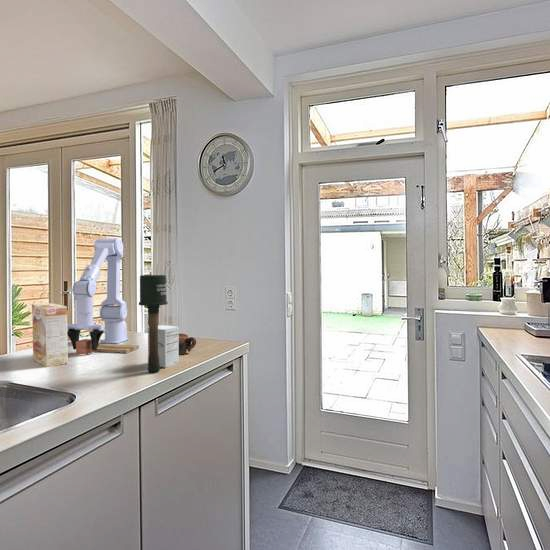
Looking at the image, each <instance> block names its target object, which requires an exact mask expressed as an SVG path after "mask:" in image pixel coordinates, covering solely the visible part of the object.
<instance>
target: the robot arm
mask: <svg viewBox="0 0 550 550" xmlns="http://www.w3.org/2000/svg"><path fill="white" fill-rule="evenodd" d="M93 247H94V253H93V257H92V259H91V261H90V264H88V265H86V266H85V268H84V270H83V272H82V274H81V275H80V278H79V280H77V281H76V282H74V283H73V286H72V289H71V291H72V294H73V297H74V301H75V315H76V316H75V319H76V322H75V323H67V337H68V338H69V340H70V342H71V345H72V349H73V350H75V351H76V341H79V340H80V335H81V331H89V336H90V339H91V343H92V350H96V349H97V346H98V343H99V340H100V343H99V344H120V343H123V342H126V341H127V340H129V339H130V338H129V337H128V325H127V322H126V321H125V320H126V318H127V317H128V307H127V302H126V301H125V300H123V298H121V297H120V293H121V292H120V291H121V290H120V289H121V287H120V285H121V284H120V283H121V259H123V257H124V243H123V241H122V239H121V238H119V237H117V238H100V237H99V238H96V239H95V241H94V244H93ZM104 261H106V262H107V267H106V268H107V270H106V271H107V272H106V275H107V276H106V277H107V279H106V280H107V281H106V283H107V284H106V299H104V300H103V301H102V302H101V303H100V304H101V305H100V309H99V317H100V319H101V320H102V321H103V322H104V324H97V323H94V296H95V294H96V293H97V286H98V283H97V281H98V280H99V277H100V275H101V273H102V271H101V267H102V265H103V263H104ZM103 334H104V340H101V337H102V335H103Z"/></svg>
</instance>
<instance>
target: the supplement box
mask: <svg viewBox="0 0 550 550" xmlns="http://www.w3.org/2000/svg"><path fill="white" fill-rule="evenodd" d="M179 328H180V327H179V326H175V325H166V324H165V325H159V324H158V354H159V364H160V368H164V369H166V368H167V369H168V368H169V367H172V366H175V365H177V364H179V360H180V359H179V357H180V354H179V334H180V333H179V330H180V329H179ZM148 358H149V327H147V359H148Z"/></svg>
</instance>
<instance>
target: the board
mask: <svg viewBox="0 0 550 550" xmlns="http://www.w3.org/2000/svg"><path fill="white" fill-rule="evenodd" d="M139 347H140V346H139V344H119V343H99V346H97V349H96V350H94V351H100V352H99V353H108V352H120V353H119V354H129V353H130V352H133V351H136V350H138V349H139ZM128 352H129V353H128Z"/></svg>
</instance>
